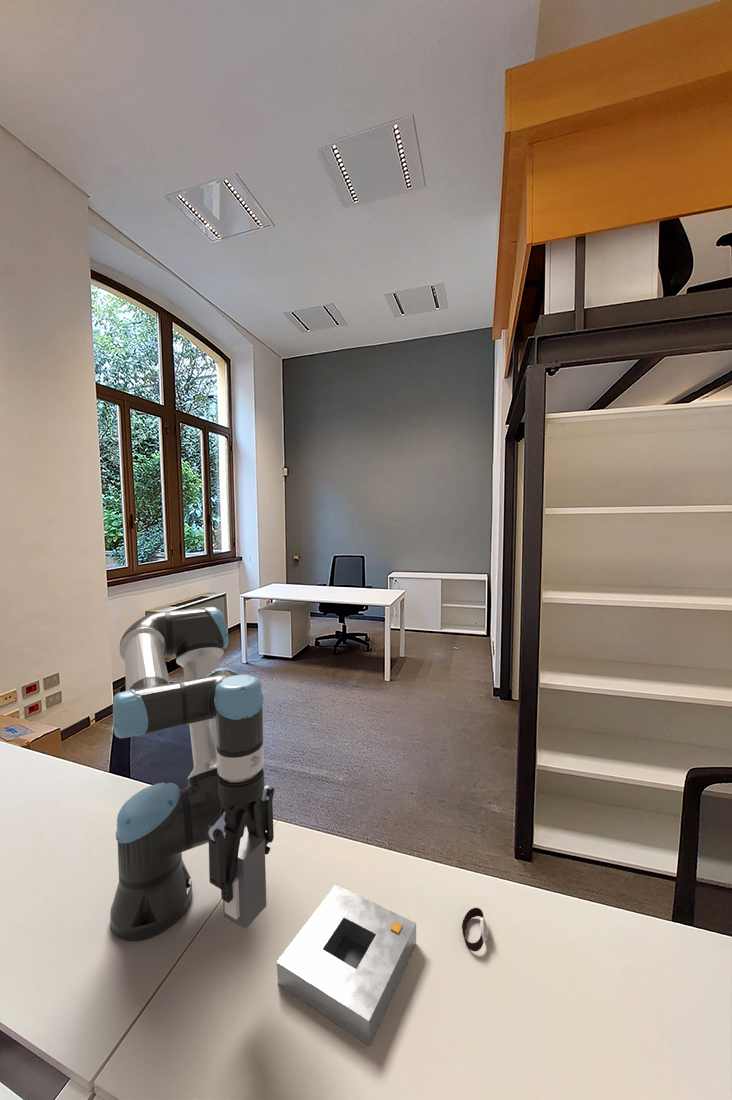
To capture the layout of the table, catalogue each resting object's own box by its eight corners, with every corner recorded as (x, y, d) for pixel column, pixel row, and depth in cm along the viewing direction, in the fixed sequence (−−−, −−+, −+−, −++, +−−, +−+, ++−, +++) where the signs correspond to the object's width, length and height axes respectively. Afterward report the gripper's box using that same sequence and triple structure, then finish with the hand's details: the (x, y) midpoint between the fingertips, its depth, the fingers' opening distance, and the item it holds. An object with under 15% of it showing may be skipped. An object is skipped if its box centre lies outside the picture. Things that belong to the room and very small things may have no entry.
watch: (485, 958, 76) (485, 939, 76) (459, 950, 78) (459, 931, 78) (488, 921, 84) (488, 903, 84) (464, 914, 85) (464, 897, 85)
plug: (223, 916, 72) (221, 848, 71) (245, 893, 76) (243, 829, 76) (245, 929, 70) (243, 860, 69) (266, 905, 74) (264, 839, 73)
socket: (277, 984, 73) (277, 960, 72) (336, 902, 88) (335, 882, 88) (369, 1046, 64) (368, 1019, 63) (416, 943, 79) (416, 921, 79)
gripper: (213, 808, 62) (218, 958, 63) (293, 750, 77) (295, 872, 79) (179, 793, 65) (185, 935, 67) (262, 740, 81) (265, 856, 83)
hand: (244, 900), depth 73 cm, fingers closed on plug, 5 cm apart
